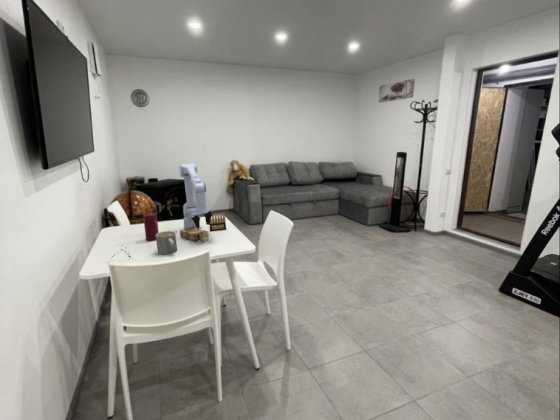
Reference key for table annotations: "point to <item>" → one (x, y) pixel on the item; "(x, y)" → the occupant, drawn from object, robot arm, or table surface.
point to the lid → (191, 230)
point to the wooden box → (190, 237)
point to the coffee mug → (166, 242)
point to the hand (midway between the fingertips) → (203, 226)
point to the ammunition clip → (218, 223)
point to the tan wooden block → (203, 236)
